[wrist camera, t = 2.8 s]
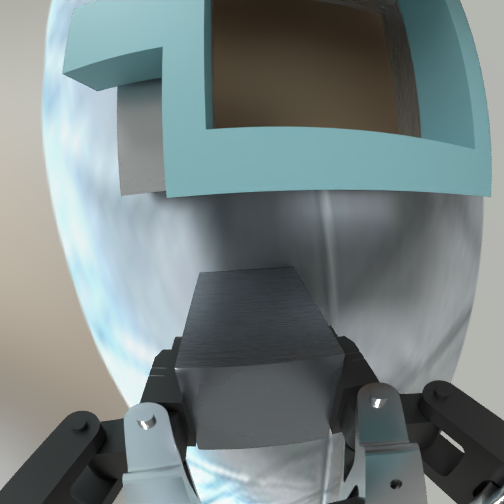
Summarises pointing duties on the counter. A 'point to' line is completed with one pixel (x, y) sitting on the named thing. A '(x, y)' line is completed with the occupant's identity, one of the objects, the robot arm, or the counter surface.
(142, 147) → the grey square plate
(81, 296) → the counter surface
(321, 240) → the counter surface
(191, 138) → the bracket head
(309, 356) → the brushed steel block
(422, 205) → the counter surface
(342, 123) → the foot plate
